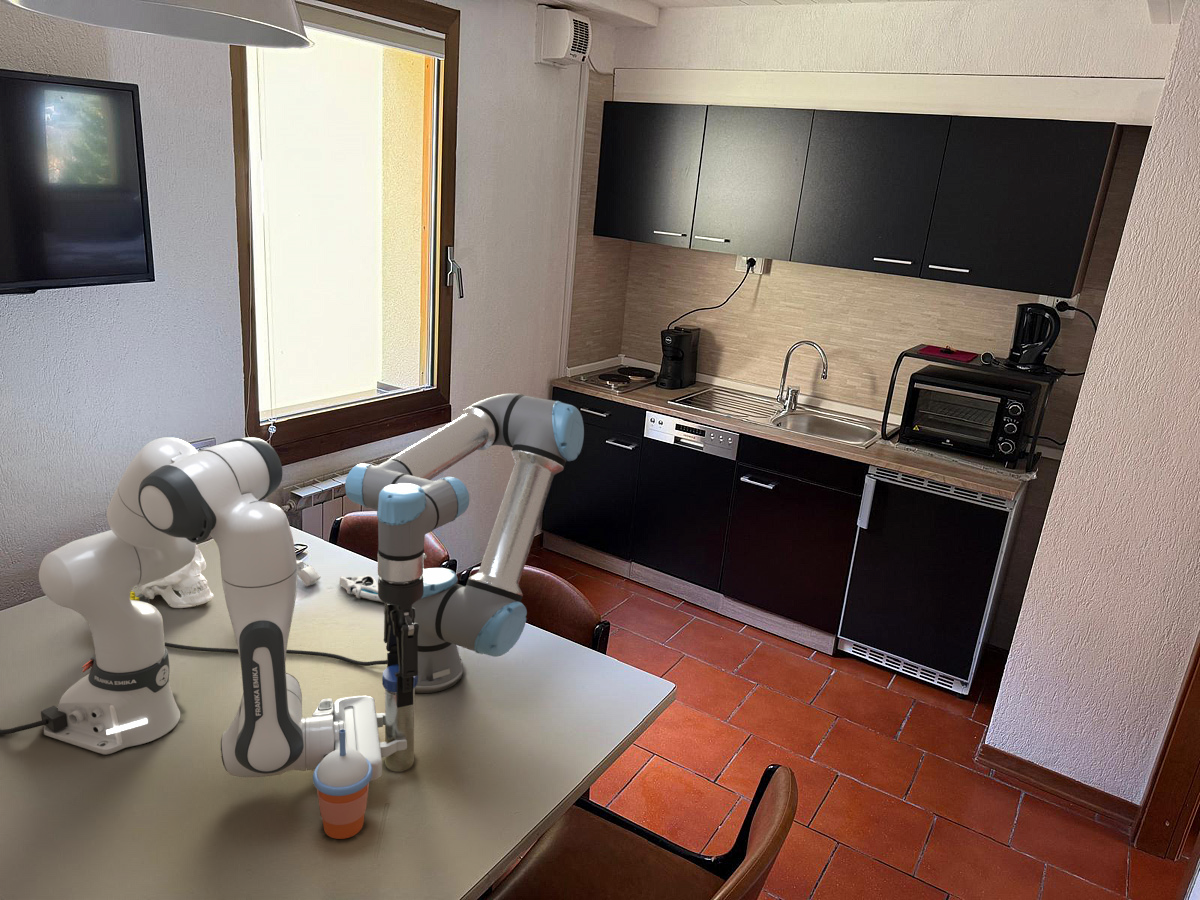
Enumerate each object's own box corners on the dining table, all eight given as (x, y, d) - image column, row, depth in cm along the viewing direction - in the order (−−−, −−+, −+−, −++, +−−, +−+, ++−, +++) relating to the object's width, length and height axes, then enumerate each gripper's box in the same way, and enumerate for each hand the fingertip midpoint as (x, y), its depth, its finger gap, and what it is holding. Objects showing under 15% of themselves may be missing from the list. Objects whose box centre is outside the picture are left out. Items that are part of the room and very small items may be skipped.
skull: (192, 617, 196) (189, 553, 192) (115, 598, 202) (111, 536, 198) (232, 595, 209) (230, 534, 205) (158, 577, 214) (155, 518, 210)
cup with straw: (356, 851, 133) (355, 754, 128) (303, 839, 135) (300, 742, 130) (382, 812, 142) (382, 719, 137) (331, 801, 143) (330, 709, 138)
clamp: (253, 565, 223) (254, 542, 221) (265, 560, 226) (266, 537, 224) (309, 593, 215) (310, 569, 213) (320, 588, 218) (321, 564, 216)
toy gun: (412, 588, 214) (383, 600, 205) (411, 597, 215) (383, 610, 206) (358, 568, 223) (329, 579, 214) (358, 577, 223) (328, 588, 215)
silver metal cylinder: (418, 766, 154) (419, 681, 149) (391, 775, 151) (392, 688, 146) (406, 750, 158) (407, 667, 153) (380, 759, 155) (380, 674, 150)
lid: (414, 693, 147) (414, 683, 146) (379, 692, 147) (379, 681, 146) (420, 674, 153) (420, 664, 152) (386, 672, 152) (386, 662, 152)
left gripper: (324, 764, 138) (411, 752, 143) (322, 693, 157) (399, 685, 161) (325, 796, 140) (410, 784, 144) (323, 722, 159) (399, 713, 163)
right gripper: (439, 596, 137) (436, 720, 144) (408, 550, 153) (406, 663, 160) (392, 603, 134) (392, 730, 141) (365, 555, 150) (366, 671, 157)
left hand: (404, 731), depth 153 cm, fingers closed on silver metal cylinder, 5 cm apart
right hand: (399, 694), depth 150 cm, fingers closed on lid, 6 cm apart
